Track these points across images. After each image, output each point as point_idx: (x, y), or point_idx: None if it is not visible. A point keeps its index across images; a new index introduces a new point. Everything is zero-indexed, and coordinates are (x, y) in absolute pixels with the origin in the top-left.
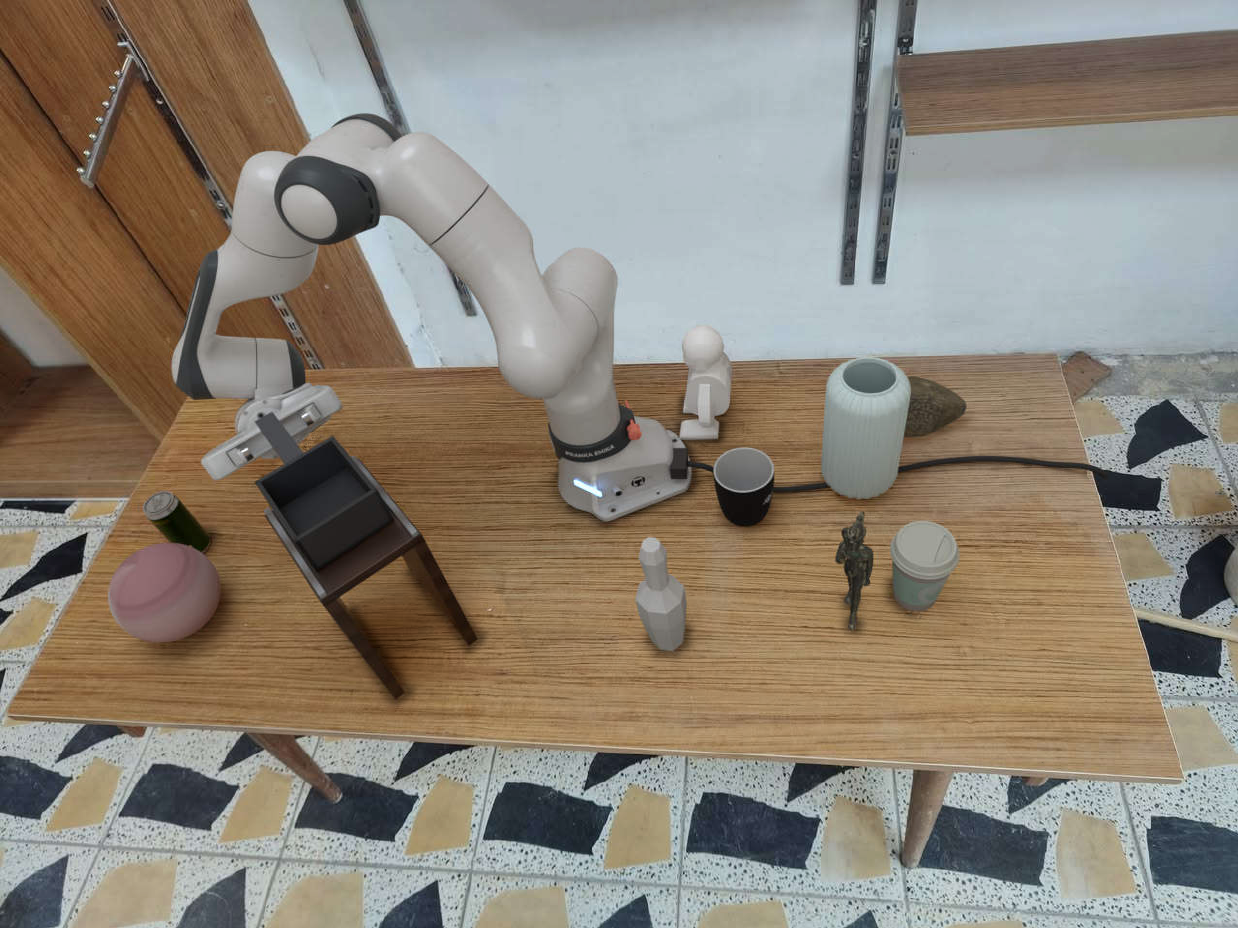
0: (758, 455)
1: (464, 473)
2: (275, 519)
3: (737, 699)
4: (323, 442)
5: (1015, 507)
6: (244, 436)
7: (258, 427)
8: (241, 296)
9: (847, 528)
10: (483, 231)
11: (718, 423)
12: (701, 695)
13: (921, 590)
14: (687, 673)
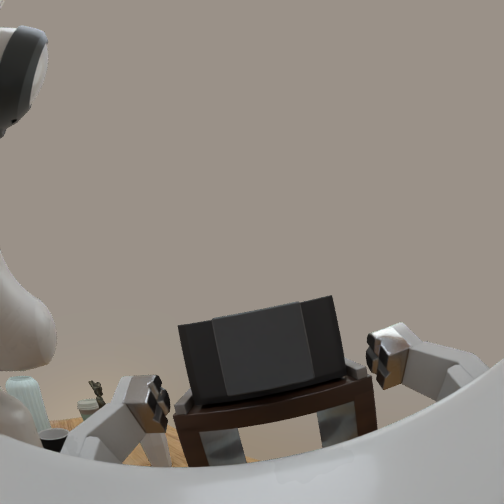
0: (41, 435)
1: None
2: (346, 362)
3: (174, 444)
4: (198, 322)
5: (53, 427)
6: (431, 407)
7: (352, 458)
8: None
9: (94, 388)
10: None
11: None
12: (182, 449)
13: None
14: (176, 455)
